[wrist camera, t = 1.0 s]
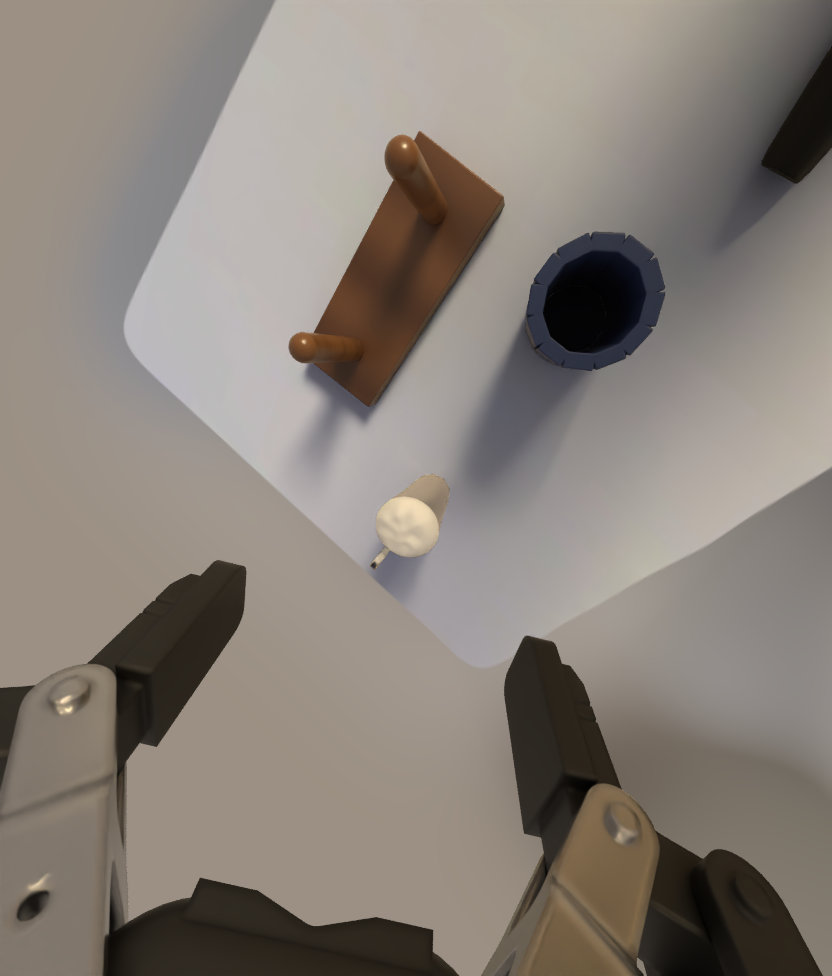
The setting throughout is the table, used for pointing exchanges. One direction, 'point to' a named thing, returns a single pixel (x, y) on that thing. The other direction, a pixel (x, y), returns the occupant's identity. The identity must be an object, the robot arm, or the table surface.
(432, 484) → the milkshake
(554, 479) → the table surface
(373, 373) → the rack
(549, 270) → the navy ribbed cylinder
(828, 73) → the electric trimmer
